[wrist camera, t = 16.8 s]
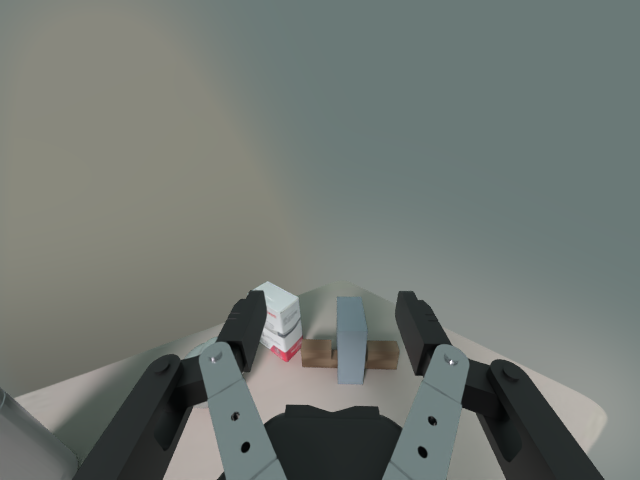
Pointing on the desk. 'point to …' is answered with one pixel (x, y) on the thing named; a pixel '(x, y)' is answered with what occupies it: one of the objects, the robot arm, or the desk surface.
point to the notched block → (351, 340)
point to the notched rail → (324, 357)
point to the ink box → (281, 322)
